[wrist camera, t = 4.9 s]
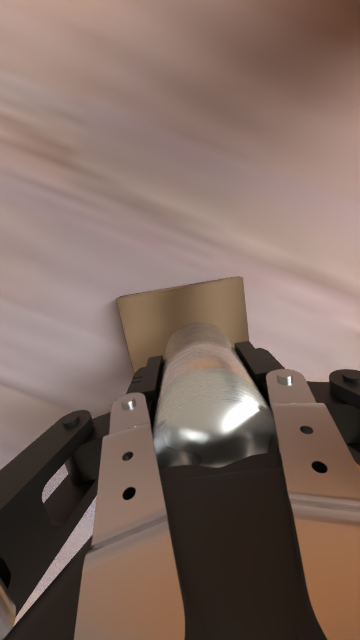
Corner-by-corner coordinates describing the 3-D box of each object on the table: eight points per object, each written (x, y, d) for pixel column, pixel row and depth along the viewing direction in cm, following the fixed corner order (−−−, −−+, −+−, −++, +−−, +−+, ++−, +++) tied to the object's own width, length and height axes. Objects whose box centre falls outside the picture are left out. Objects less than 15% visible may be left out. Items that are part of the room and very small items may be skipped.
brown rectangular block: (237, 276, 19) (242, 277, 18) (245, 353, 21) (251, 360, 19) (120, 296, 20) (116, 298, 18) (138, 370, 21) (135, 378, 20)
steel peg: (226, 316, 14) (287, 391, 6) (234, 376, 15) (296, 510, 7) (160, 327, 14) (133, 415, 6) (172, 386, 15) (163, 527, 7)
